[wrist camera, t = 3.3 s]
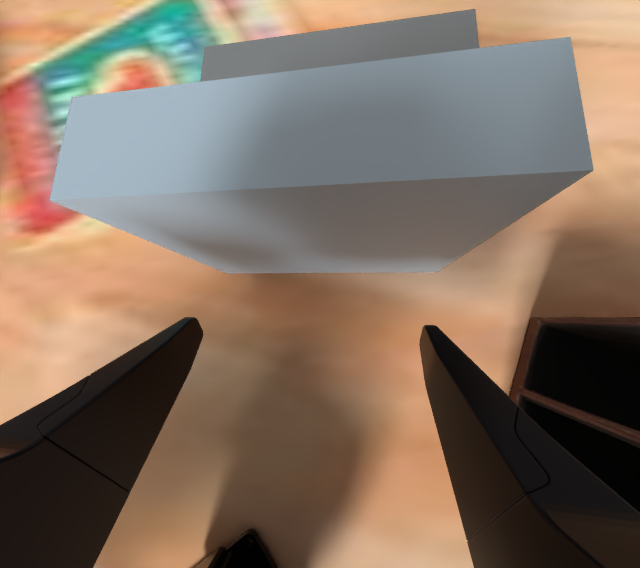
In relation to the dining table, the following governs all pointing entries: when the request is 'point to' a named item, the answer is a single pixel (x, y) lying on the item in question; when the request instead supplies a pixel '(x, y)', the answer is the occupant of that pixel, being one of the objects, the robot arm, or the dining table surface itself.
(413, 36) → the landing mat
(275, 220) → the blue slab
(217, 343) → the dining table surface
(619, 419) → the letter holder
